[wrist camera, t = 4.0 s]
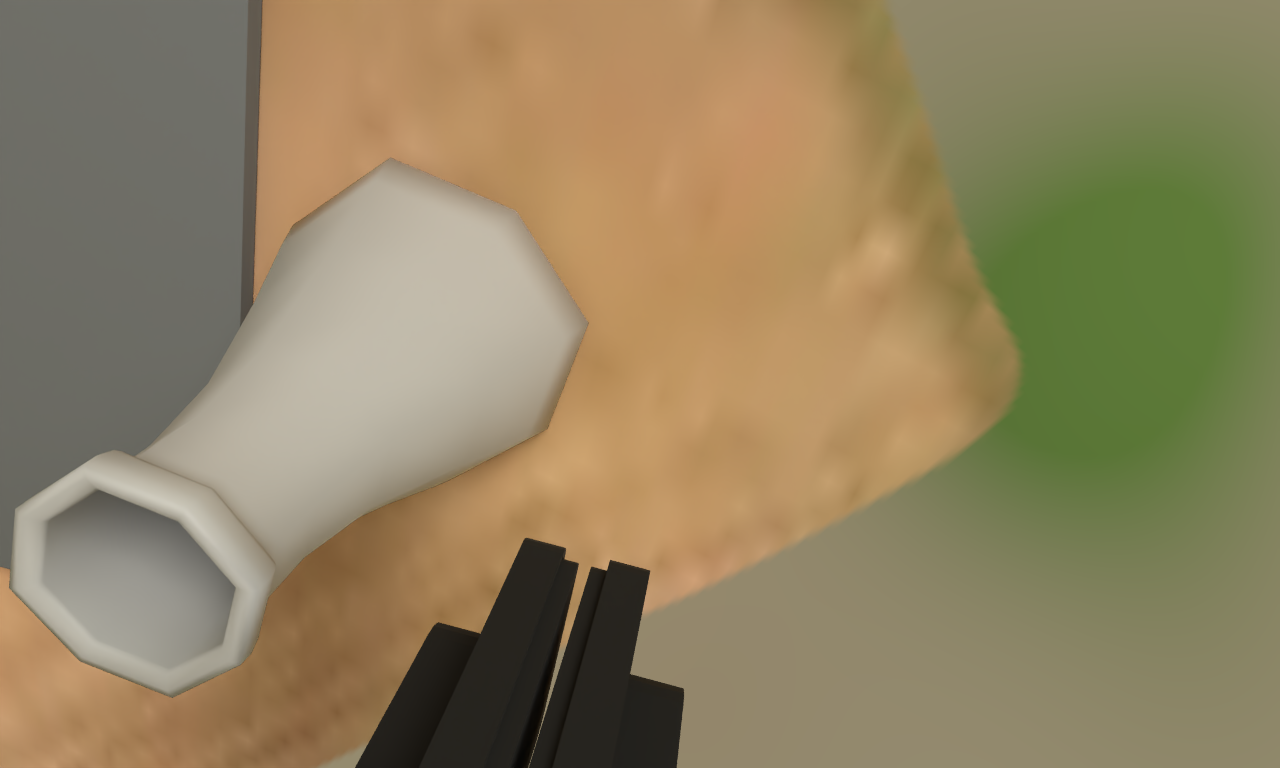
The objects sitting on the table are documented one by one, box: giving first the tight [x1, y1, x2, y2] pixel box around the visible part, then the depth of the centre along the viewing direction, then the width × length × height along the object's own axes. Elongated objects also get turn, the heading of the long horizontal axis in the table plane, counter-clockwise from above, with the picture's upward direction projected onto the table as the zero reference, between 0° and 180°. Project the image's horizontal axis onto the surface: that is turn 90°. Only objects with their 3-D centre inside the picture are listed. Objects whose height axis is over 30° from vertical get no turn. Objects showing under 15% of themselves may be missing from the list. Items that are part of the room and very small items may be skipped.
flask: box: [9, 158, 588, 698], centre depth 15 cm, size 7×7×10 cm
